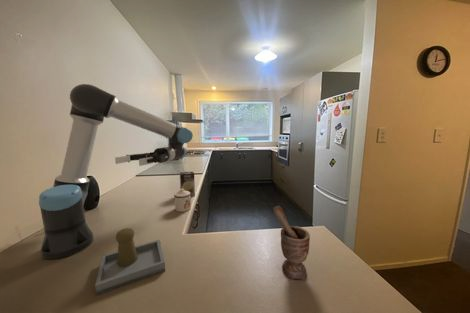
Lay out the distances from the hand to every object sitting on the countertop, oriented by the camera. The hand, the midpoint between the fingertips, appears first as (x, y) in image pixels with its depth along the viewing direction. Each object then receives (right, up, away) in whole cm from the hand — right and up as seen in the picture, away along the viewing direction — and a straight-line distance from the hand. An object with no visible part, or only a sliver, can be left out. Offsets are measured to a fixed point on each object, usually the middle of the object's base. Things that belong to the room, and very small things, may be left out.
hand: (127, 161), depth 76 cm
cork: (+8, -34, -14) cm, 37 cm away
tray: (+11, -35, -15) cm, 39 cm away
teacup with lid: (+15, -28, +31) cm, 44 cm away
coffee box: (+12, -25, +50) cm, 57 cm away
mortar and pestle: (+62, -34, -17) cm, 73 cm away
